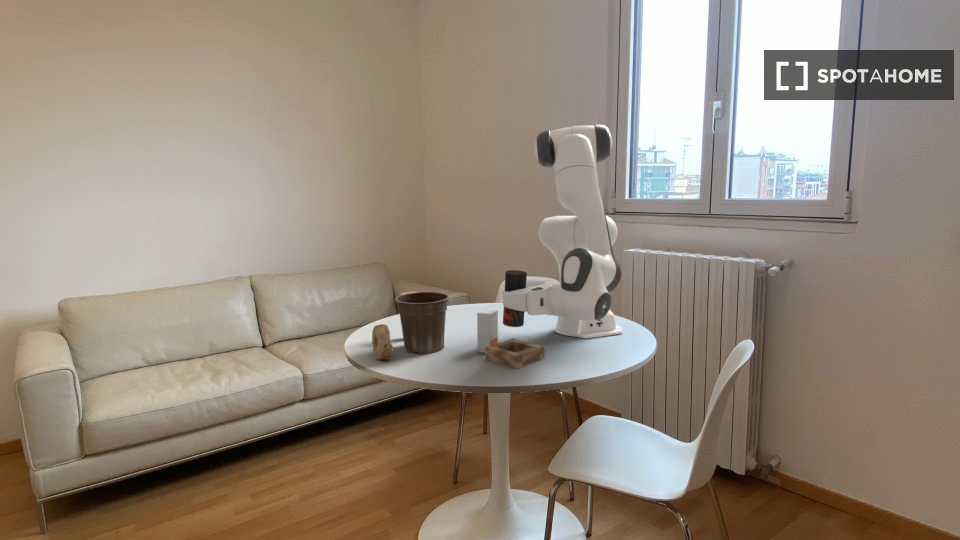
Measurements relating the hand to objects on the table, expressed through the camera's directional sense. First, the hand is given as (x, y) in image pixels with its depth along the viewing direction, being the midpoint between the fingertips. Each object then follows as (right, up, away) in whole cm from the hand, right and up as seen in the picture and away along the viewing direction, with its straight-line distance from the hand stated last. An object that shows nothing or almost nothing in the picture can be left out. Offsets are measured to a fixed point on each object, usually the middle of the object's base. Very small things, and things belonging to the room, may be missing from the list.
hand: (512, 291), depth 153 cm
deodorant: (0, -9, +1) cm, 9 cm away
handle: (-32, -16, +25) cm, 43 cm away
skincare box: (-7, -18, +11) cm, 22 cm away
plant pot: (-26, -18, +14) cm, 35 cm away
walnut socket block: (+1, -19, +2) cm, 19 cm away
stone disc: (-38, -20, +4) cm, 43 cm away
